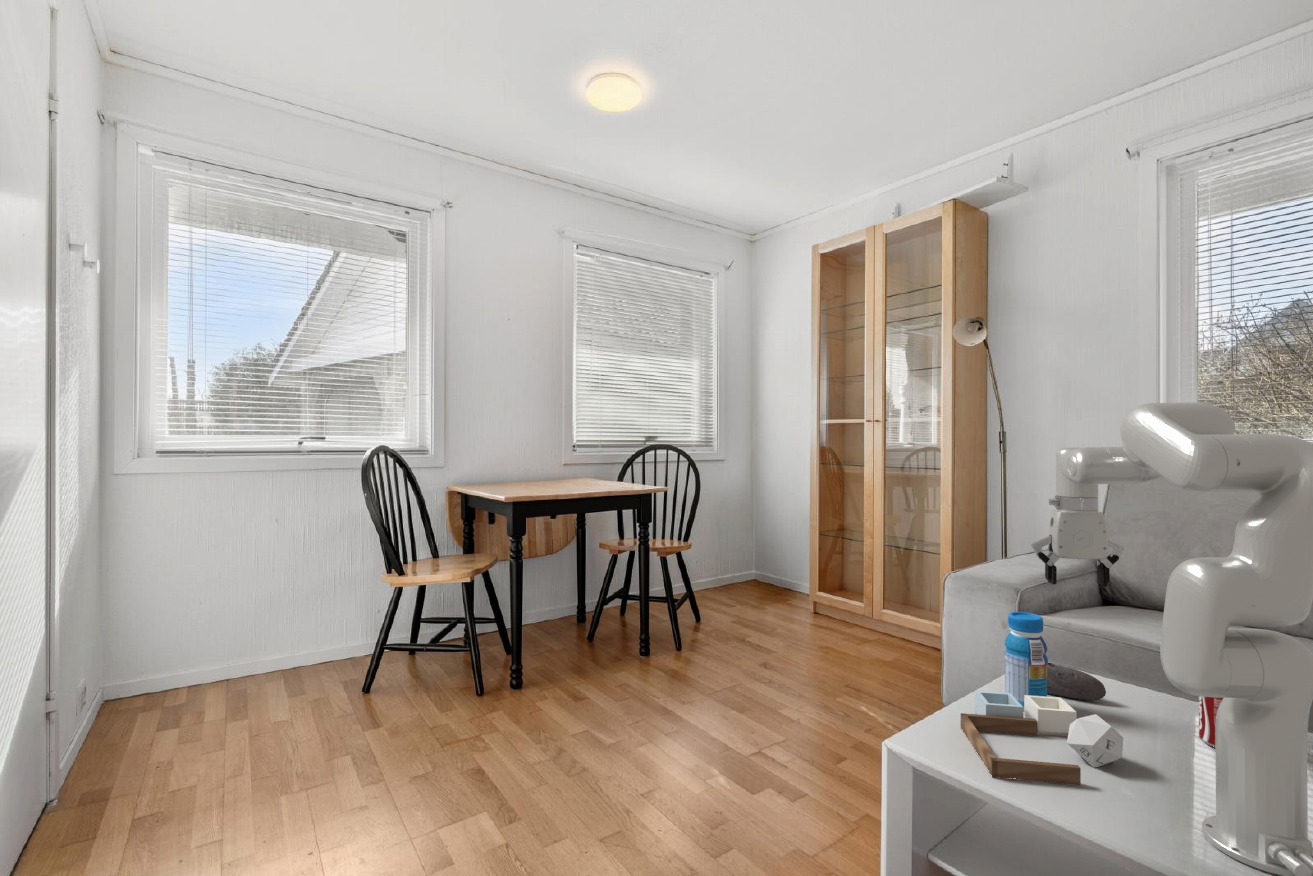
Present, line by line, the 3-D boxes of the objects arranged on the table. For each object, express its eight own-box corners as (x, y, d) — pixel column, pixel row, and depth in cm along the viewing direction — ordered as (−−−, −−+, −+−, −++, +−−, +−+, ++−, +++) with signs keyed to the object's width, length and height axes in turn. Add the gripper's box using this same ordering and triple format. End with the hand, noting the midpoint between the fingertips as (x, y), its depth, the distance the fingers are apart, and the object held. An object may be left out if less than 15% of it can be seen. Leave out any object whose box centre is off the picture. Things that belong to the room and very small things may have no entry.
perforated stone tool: (1107, 701, 140) (1106, 670, 140) (1105, 709, 136) (1105, 677, 136) (1030, 684, 150) (1030, 656, 150) (1026, 691, 146) (1026, 662, 146)
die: (1062, 765, 114) (1094, 737, 108) (1052, 724, 121) (1082, 697, 115) (1108, 784, 113) (1142, 758, 107) (1095, 742, 120) (1127, 715, 114)
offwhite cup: (1076, 737, 123) (1076, 712, 123) (1038, 734, 124) (1037, 709, 124) (1060, 721, 130) (1060, 697, 130) (1024, 718, 131) (1024, 695, 131)
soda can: (1255, 756, 116) (1255, 692, 116) (1214, 752, 117) (1213, 689, 117) (1230, 739, 122) (1229, 678, 122) (1190, 735, 123) (1190, 675, 124)
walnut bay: (1080, 785, 106) (1080, 768, 106) (991, 777, 109) (991, 760, 109) (1035, 733, 124) (1035, 719, 125) (960, 727, 127) (960, 713, 127)
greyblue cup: (1023, 731, 125) (1023, 707, 125) (986, 728, 127) (986, 704, 127) (1010, 716, 132) (1010, 693, 132) (975, 714, 134) (975, 690, 134)
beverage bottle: (1002, 707, 137) (1001, 616, 137) (1006, 694, 144) (1005, 608, 144) (1047, 716, 132) (1046, 623, 132) (1049, 702, 139) (1048, 614, 139)
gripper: (1038, 505, 131) (1038, 586, 131) (1132, 507, 127) (1132, 590, 127) (1025, 502, 138) (1026, 578, 138) (1113, 503, 135) (1113, 582, 135)
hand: (1076, 584), depth 133 cm, fingers open, 9 cm apart
